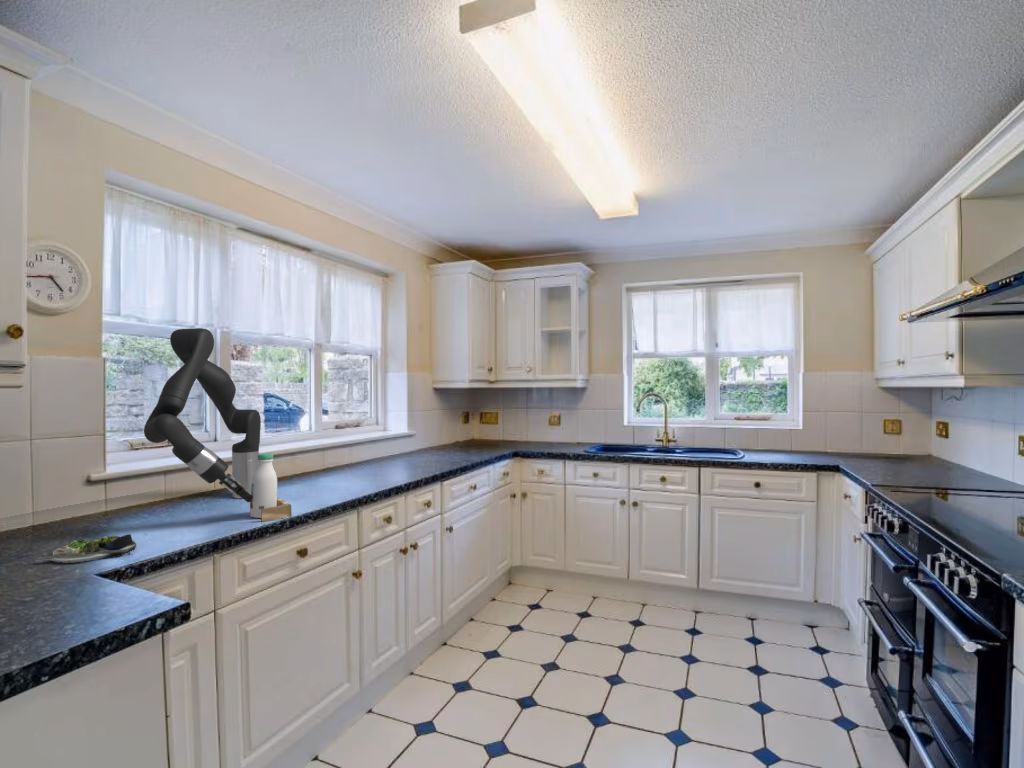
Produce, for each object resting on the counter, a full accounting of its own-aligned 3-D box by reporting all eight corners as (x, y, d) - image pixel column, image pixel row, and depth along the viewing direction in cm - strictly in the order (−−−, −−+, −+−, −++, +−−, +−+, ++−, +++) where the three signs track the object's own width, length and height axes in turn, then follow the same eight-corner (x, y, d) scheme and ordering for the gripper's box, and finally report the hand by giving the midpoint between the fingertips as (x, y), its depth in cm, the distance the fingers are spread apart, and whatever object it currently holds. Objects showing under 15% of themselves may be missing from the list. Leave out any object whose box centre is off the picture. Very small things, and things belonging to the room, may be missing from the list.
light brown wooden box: (248, 513, 177) (247, 499, 177) (277, 509, 183) (277, 495, 183) (260, 522, 166) (259, 506, 166) (291, 517, 172) (291, 502, 172)
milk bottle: (281, 514, 176) (283, 453, 177) (265, 519, 169) (267, 455, 169) (261, 512, 178) (263, 452, 179) (244, 517, 171) (246, 454, 171)
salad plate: (39, 574, 122) (39, 554, 122) (36, 556, 136) (36, 538, 136) (140, 555, 136) (140, 537, 136) (129, 540, 149) (129, 523, 149)
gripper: (221, 457, 160) (265, 493, 167) (213, 453, 170) (254, 487, 178) (200, 477, 156) (246, 513, 164) (193, 471, 167) (236, 505, 174)
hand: (250, 499), depth 171 cm, fingers closed
